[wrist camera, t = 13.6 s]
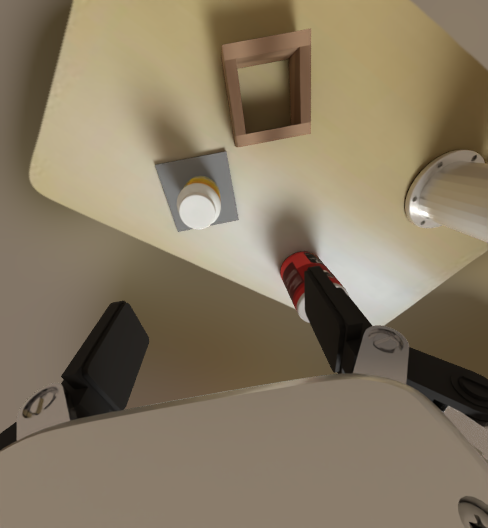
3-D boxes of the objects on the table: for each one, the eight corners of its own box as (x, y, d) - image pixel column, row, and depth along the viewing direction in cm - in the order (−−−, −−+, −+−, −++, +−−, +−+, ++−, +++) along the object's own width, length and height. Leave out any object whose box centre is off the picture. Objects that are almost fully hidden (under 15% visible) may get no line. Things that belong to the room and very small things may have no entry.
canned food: (324, 271, 43) (354, 309, 33) (288, 289, 44) (308, 331, 35) (311, 242, 39) (341, 275, 29) (272, 263, 40) (290, 301, 31)
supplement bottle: (215, 215, 34) (215, 240, 26) (181, 206, 32) (169, 229, 24) (224, 181, 31) (226, 196, 23) (187, 169, 30) (176, 181, 22)
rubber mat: (226, 151, 30) (226, 151, 29) (238, 218, 35) (238, 220, 35) (155, 164, 30) (155, 165, 29) (178, 230, 35) (178, 231, 34)
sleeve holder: (298, 43, 25) (310, 28, 22) (299, 134, 30) (310, 133, 26) (221, 57, 25) (222, 44, 21) (235, 146, 30) (237, 147, 26)
